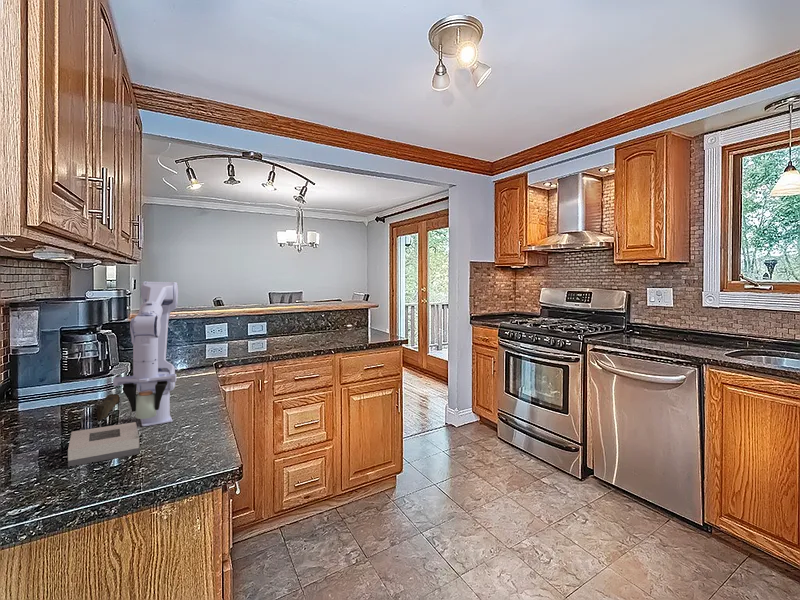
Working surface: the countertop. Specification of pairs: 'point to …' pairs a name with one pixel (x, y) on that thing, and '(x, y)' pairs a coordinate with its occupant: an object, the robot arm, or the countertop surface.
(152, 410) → the cylinder with orange cap
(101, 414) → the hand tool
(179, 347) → the countertop surface
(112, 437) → the beige square slab
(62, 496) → the countertop surface
